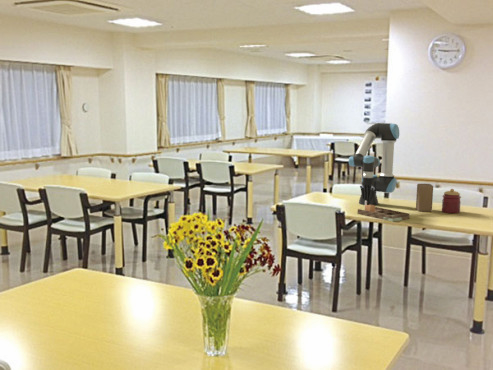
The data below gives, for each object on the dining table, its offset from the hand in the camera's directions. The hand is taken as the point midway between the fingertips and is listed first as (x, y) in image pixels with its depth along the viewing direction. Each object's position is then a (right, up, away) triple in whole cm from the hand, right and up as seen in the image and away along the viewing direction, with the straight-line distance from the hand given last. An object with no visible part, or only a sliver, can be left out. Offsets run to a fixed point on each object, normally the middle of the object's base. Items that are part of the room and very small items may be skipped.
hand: (366, 209), depth 387 cm
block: (+47, -2, +15) cm, 49 cm away
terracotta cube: (+2, -2, -2) cm, 4 cm away
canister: (+65, -3, +10) cm, 66 cm away
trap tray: (+10, -5, -6) cm, 13 cm away
